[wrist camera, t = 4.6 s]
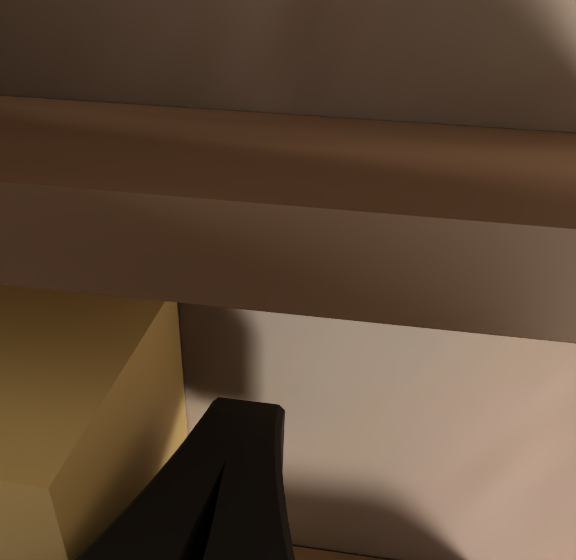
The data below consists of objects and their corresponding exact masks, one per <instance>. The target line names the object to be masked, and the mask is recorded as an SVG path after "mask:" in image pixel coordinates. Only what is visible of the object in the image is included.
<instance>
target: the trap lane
mask: <svg viewBox="0 0 576 560" xmlns="http://www.w3.org/2000/svg"><path fill="white" fill-rule="evenodd" d="M0 284H2V285H12V286H22V287H31V288H41V289H51V290H61V291H70V292H80V293H90V294H100V295H109V296H119V297H129V298H139V299H148V300H158V301H168V302H178V303H187V304H197V305H207V306H217V307H226V308H236V309H246V310H256V311H265V312H275V313H285V314H295V315H304V316H314V317H324V318H334V319H343V320H353V321H363V322H373V323H382V324H392V325H402V326H412V327H421V328H431V329H441V330H451V331H460V332H470V333H480V334H490V335H499V336H509V337H519V338H529V339H538V340H548V341H558V342H568V343H576V133H567V132H552V131H536V130H521V129H506V128H490V127H475V126H460V125H444V124H429V123H414V122H398V121H383V120H368V119H352V118H337V117H322V116H306V115H291V114H276V113H260V112H245V111H230V110H214V109H199V108H184V107H168V106H153V105H138V104H122V103H107V102H92V101H76V100H61V99H46V98H30V97H15V96H0ZM293 551H294V556H295V560H386V559H379V558H372V557H366V556H359V555H352V554H345V553H338V552H331V551H324V550H318V549H311V548H304V547H297V546H293Z"/></svg>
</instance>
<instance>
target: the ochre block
mask: <svg viewBox="0 0 576 560" xmlns="http://www.w3.org/2000/svg"><path fill="white" fill-rule="evenodd" d="M187 436H188V432H187V419H186V407H185V394H184V382H183V369H182V357H181V345H180V332H179V320H178V307H177V302H168V301H158V300H148V299H139V298H129V297H119V296H109V295H100V294H90V293H80V292H70V291H61V290H51V289H41V288H31V287H22V286H12V285H2V284H0V560H76V559H77V558H78V557H79V556H80V555H81V554H82V553H83V552H84V551H85V550H86V549H87V548H88V547H89V546H90V545H91V544H92V543H93V542H94V541H95V540H96V539H97V538H98V537H99V536H100V535H101V534H102V533H103V532H104V531H105V530H106V529H107V528H108V527H109V526H110V525H111V524H112V522H113V521H114V520H115V519H116V518H117V517H118V516H119V515H120V514H121V513H122V512H123V511H124V510H125V509H126V508H127V507H128V505H129V504H130V503H131V502H132V501H133V500H134V499H135V498H136V497H137V496H138V495H139V494H140V493H141V491H142V490H143V489H144V488H145V487H146V486H147V485H148V483H149V482H150V481H151V480H152V479H153V478H154V476H155V475H156V474H157V473H158V472H159V471H160V469H161V468H162V467H163V466H164V465H165V463H166V462H167V461H168V460H169V459H170V458H171V456H172V455H173V454H174V453H175V451H176V450H177V449H178V448H179V446H180V445H181V444H182V443H183V441H184V440H185V439H186V438H187Z"/></svg>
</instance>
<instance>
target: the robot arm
mask: <svg viewBox="0 0 576 560" xmlns="http://www.w3.org/2000/svg"><path fill="white" fill-rule="evenodd" d="M284 419H285V410H284V409H283V408H282V407H281V406H280V405H277V404H269V403H261V402H253V401H244V400H236V399H228V398H220V397H219V398H217V399H216V400H214V401H213V402H212V403H211V405H210V406H209V408H208V409H207V411H206V412H205V414H204V415H203V416H202V418H201V419H200V420H199V422H198V423H197V425H196V426H195V427H194V429H193V430H192V431H191V432H190V434H189V435H188V436H187V438H186V439H185V440H184V441H183V443H182V444H181V445H180V446H179V448H178V449H177V450H176V451H175V453H174V454H173V455H172V456H171V458H170V459H169V460H168V461H167V462H166V463H165V465H164V466H163V467H162V468H161V469H160V471H159V472H158V473H157V474H156V475H155V476H154V478H153V479H152V480H151V481H150V482H149V483H148V485H147V486H146V487H145V488H144V489H143V490H142V491H141V493H140V494H139V495H138V496H137V497H136V498H135V499H134V500H133V501H132V502H131V503H130V504H129V505H128V507H127V508H126V509H125V510H124V511H123V512H122V513H121V514H120V515H119V516H118V517H117V518H116V519H115V520H114V521H113V522H112V524H111V525H110V526H109V527H108V528H107V529H106V530H105V531H104V532H103V533H102V534H101V535H100V536H99V537H98V538H97V539H96V540H95V541H94V542H93V543H92V544H91V545H90V546H89V547H88V548H87V549H86V550H85V551H84V552H83V553H82V554H81V555H80V556H79V557H78V558H77V559H76V560H295V556H294V551H293V546H292V541H291V535H290V529H289V523H288V517H287V509H286V501H285V494H284V486H283V475H282V467H283V443H284Z"/></svg>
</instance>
